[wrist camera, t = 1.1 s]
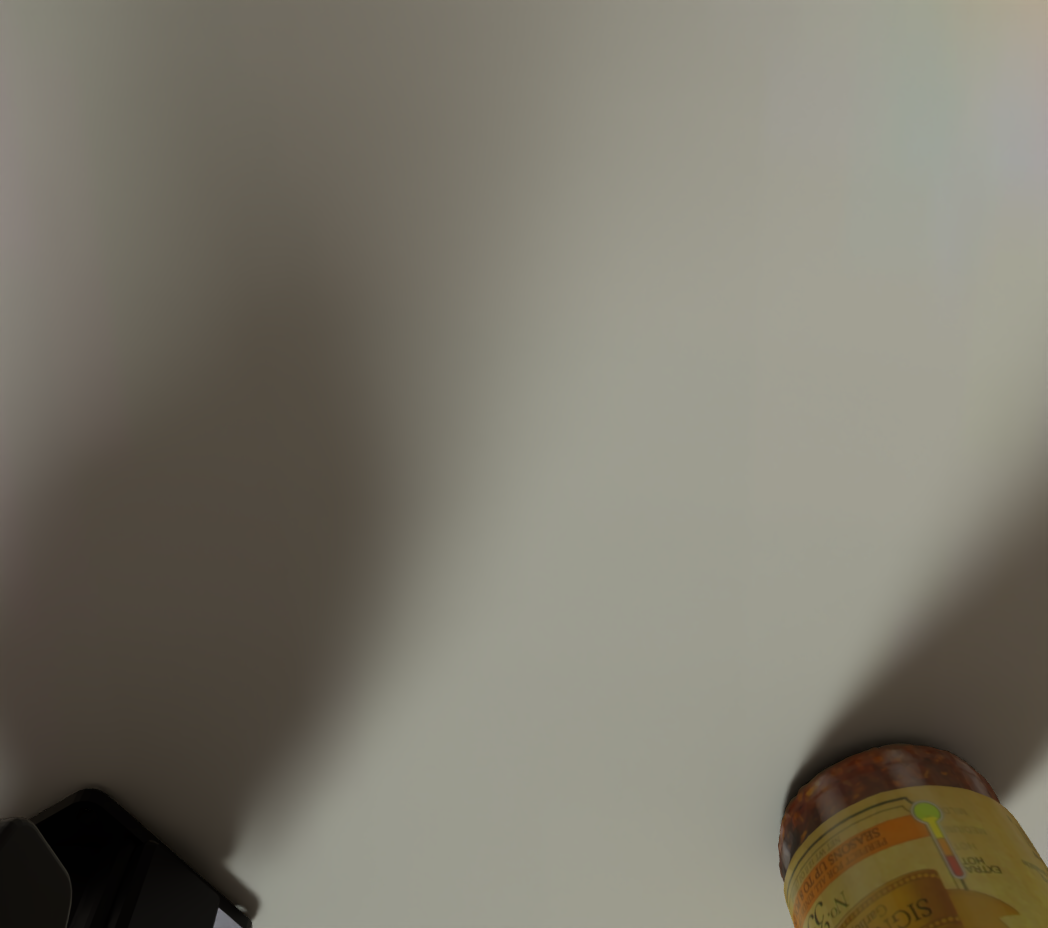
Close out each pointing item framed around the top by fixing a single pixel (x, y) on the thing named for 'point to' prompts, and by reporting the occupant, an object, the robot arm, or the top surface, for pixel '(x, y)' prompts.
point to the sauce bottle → (907, 847)
